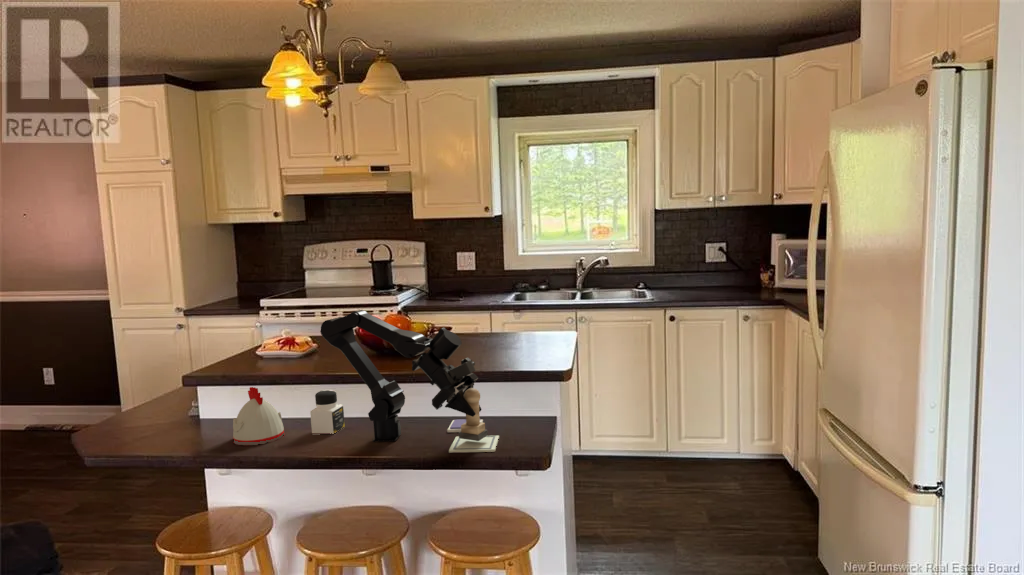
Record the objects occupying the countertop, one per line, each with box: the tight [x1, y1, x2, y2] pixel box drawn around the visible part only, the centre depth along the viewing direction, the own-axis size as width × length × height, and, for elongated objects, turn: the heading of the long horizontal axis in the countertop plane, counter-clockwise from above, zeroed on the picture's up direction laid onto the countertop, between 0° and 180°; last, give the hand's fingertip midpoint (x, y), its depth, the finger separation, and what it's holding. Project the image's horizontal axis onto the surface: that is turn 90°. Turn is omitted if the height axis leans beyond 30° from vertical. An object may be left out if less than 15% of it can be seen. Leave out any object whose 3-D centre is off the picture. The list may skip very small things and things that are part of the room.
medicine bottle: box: [309, 389, 345, 435], centre depth 192 cm, size 7×7×12 cm
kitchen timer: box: [232, 386, 285, 442], centre depth 188 cm, size 14×14×15 cm
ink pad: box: [446, 418, 484, 433], centre depth 189 cm, size 9×9×1 cm
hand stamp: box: [458, 387, 489, 441], centre depth 172 cm, size 6×5×13 cm
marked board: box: [448, 435, 500, 454], centre depth 173 cm, size 12×11×1 cm
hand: (477, 413), depth 172 cm, fingers closed on hand stamp, 4 cm apart
